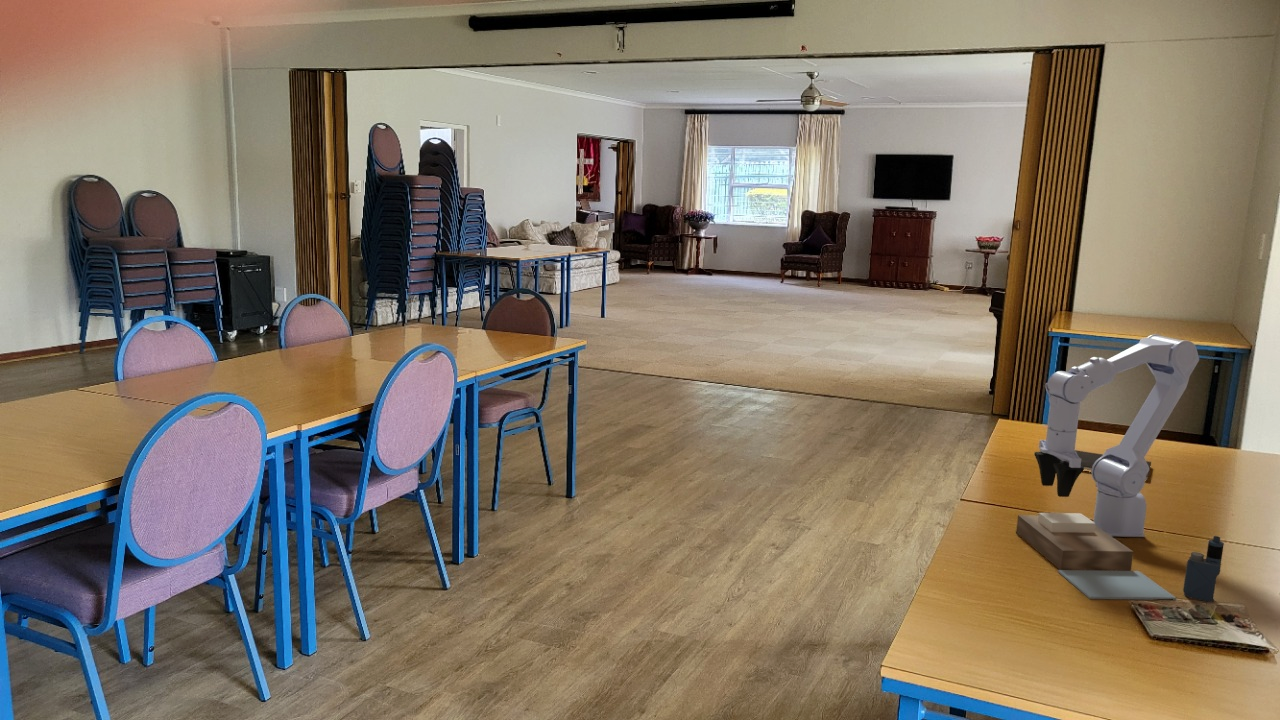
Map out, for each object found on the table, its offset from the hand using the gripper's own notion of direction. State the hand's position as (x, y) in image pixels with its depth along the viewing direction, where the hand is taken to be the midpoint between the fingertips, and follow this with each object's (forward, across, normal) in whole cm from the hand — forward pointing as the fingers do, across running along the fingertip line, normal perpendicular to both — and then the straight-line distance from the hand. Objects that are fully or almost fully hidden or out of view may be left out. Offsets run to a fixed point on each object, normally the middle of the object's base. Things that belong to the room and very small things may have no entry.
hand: (1055, 490), depth 200 cm
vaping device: (+10, +31, +13) cm, 35 cm away
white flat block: (+6, +6, 0) cm, 8 cm away
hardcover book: (+11, -52, +39) cm, 66 cm away
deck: (+10, +9, 0) cm, 13 cm away
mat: (+10, +26, 0) cm, 28 cm away
